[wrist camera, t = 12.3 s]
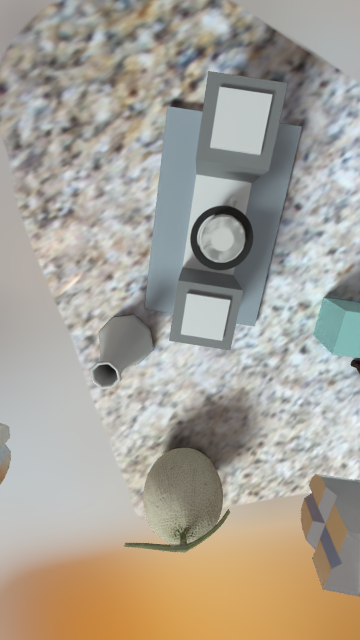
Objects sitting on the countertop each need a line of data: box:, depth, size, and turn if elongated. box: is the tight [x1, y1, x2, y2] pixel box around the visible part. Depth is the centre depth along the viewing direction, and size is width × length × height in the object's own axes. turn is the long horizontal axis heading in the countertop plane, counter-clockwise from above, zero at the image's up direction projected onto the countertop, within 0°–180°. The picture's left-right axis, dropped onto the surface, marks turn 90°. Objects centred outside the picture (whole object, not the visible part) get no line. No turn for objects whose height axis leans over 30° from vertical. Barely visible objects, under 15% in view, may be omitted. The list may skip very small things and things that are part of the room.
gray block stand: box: [144, 71, 302, 350], centre depth 31 cm, size 14×22×10 cm, turn 172°
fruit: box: [125, 448, 230, 552], centre depth 39 cm, size 10×12×15 cm
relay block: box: [313, 297, 360, 358], centre depth 36 cm, size 5×5×6 cm
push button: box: [190, 198, 253, 270], centre depth 30 cm, size 7×5×10 cm
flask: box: [89, 315, 154, 389], centre depth 36 cm, size 7×7×10 cm
